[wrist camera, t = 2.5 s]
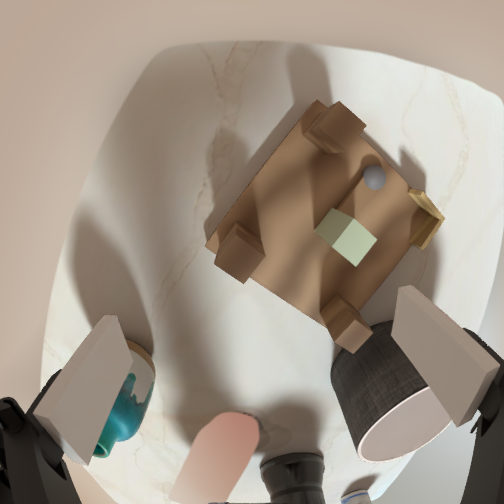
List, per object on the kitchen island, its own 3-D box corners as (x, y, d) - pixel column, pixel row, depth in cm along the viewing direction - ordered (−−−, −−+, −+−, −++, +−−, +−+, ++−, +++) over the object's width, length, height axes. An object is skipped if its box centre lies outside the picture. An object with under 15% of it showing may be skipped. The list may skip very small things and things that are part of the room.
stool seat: (425, 211, 35) (464, 224, 26) (333, 327, 40) (352, 364, 31) (313, 103, 31) (335, 83, 22) (206, 242, 35) (195, 266, 27)
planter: (415, 301, 39) (472, 355, 24) (422, 370, 44) (460, 422, 29) (317, 350, 41) (346, 427, 26) (342, 411, 46) (365, 474, 31)
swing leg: (387, 177, 31) (418, 181, 25) (335, 247, 34) (355, 266, 27) (368, 158, 31) (397, 158, 24) (314, 230, 33) (331, 246, 26)
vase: (100, 364, 41) (54, 444, 22) (105, 317, 38) (44, 401, 20) (155, 387, 42) (127, 477, 24) (168, 343, 40) (133, 444, 21)
